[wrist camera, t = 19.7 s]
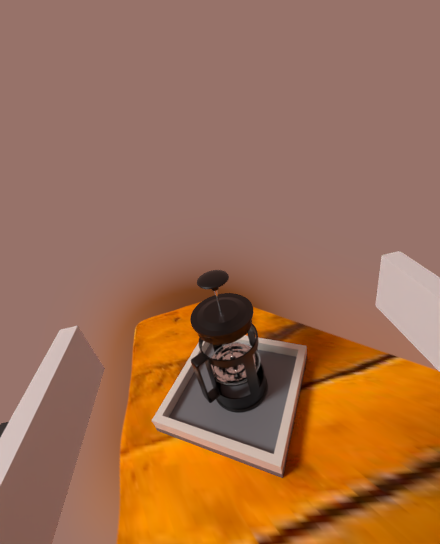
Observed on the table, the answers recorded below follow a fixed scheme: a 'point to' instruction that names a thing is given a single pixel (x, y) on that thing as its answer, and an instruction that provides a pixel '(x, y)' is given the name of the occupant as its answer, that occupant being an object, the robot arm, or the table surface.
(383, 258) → the robot arm
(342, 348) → the table surface
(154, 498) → the table surface
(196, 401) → the serving tray
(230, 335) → the french press
